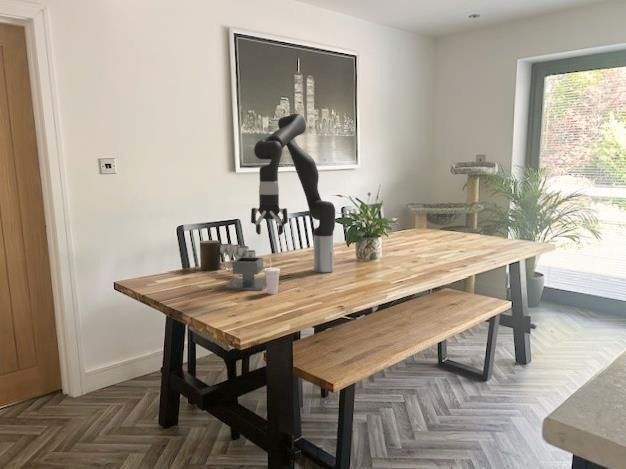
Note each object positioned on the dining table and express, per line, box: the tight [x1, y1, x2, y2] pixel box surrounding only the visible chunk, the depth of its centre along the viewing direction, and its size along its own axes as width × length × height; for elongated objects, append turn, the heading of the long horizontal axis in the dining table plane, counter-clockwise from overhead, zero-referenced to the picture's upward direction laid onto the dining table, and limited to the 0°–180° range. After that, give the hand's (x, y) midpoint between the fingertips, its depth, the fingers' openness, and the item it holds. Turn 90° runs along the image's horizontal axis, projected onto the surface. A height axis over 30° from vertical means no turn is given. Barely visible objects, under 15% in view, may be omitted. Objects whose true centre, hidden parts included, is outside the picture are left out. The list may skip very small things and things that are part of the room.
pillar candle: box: [199, 238, 222, 272], centre depth 237 cm, size 10×10×15 cm
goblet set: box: [218, 243, 257, 278], centre depth 230 cm, size 28×6×13 cm, turn 42°
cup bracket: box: [223, 256, 267, 292], centre depth 206 cm, size 16×16×11 cm
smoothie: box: [263, 258, 281, 295], centre depth 193 cm, size 6×6×14 cm
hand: (269, 234), depth 192 cm, fingers open, 8 cm apart
